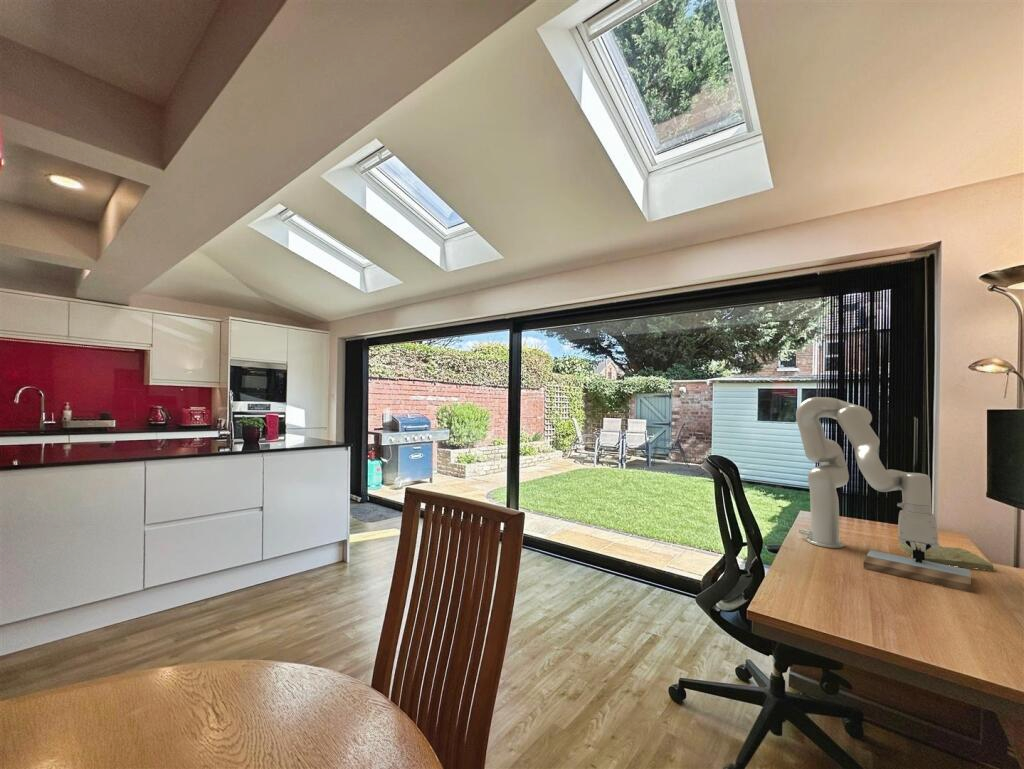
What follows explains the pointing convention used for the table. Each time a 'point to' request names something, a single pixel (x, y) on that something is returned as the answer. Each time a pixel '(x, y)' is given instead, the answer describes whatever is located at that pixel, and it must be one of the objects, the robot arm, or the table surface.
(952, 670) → the table surface
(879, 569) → the walnut plank
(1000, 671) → the table surface
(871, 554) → the grey-blue plank
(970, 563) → the decorative tile
